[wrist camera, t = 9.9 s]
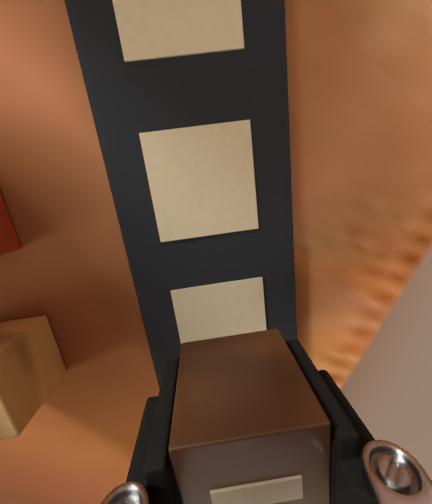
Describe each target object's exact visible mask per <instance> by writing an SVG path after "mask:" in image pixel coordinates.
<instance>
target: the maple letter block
mask: <svg viewBox="0 0 432 504" xmlns="http://www.w3.org/2000/svg"><path fill="white" fill-rule="evenodd" d="M65 372H66V367H65V364H64V362H63V359H62V356H61V354H60V351H59V348H58V346H57V343H56V340H55V338H54V335H53V332H52V330H51V327H50V324H49V322H48V319H47V316H46V315H42V316H36V317H29V318H22V319H15V320H9V321H2V322H0V439H3V438H9V437H15V436H19V435H20V434H21V432H22V431H23V430H24V428H25V427H26V426H27V424H28V423H29V421H30V420H31V419H32V417H33V416H34V415H35V413H36V412H37V410H38V409H39V408H40V406H41V405H42V404H43V402H44V401H45V400H46V398H47V397H48V395H49V394H50V393H51V391H52V390H53V389H54V387H55V386H56V384H57V383H58V382H59V380H60V379H61V378H62V376H63V375H64V373H65Z"/></svg>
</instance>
